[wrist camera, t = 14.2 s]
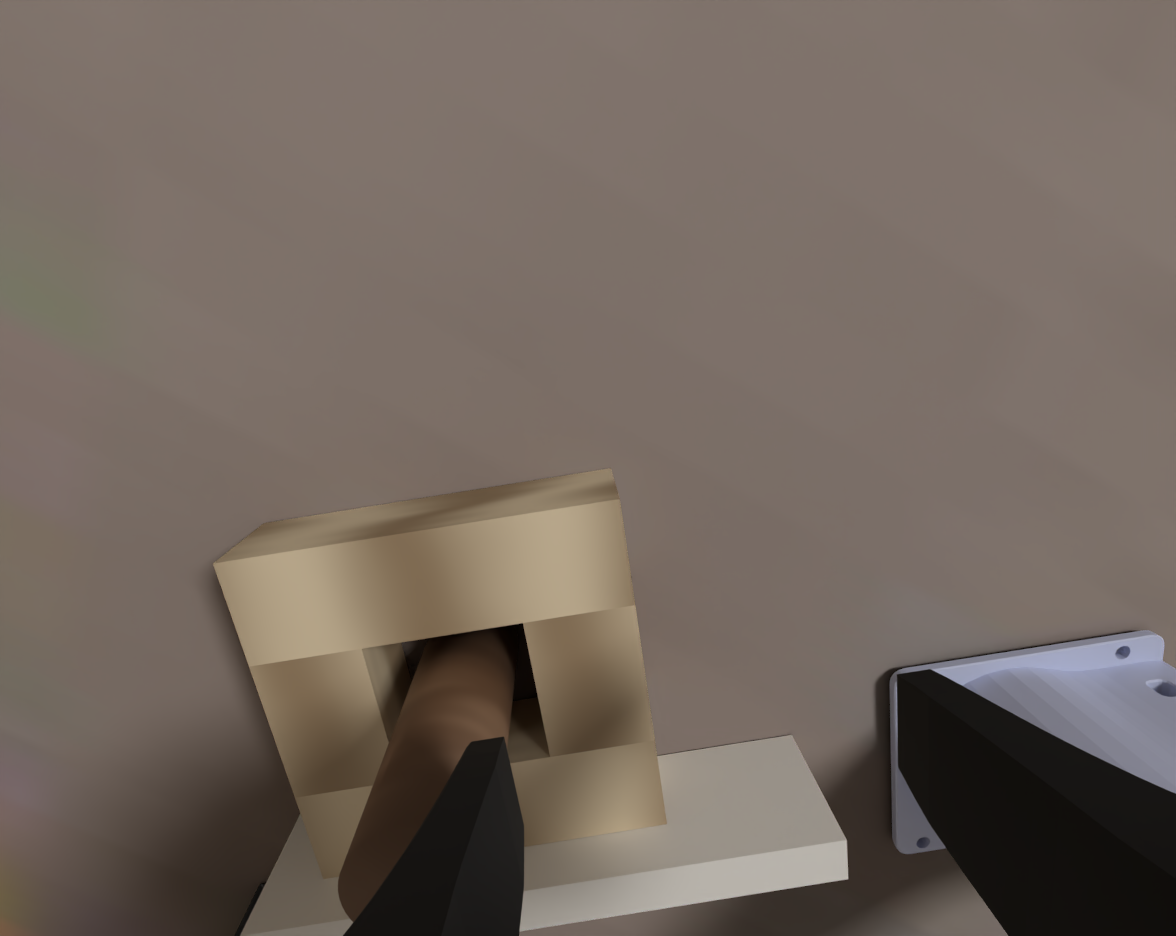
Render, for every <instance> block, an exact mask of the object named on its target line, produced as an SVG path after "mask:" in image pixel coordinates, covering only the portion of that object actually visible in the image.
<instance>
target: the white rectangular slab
mask: <svg viewBox="0 0 1176 936" xmlns="http://www.w3.org/2000/svg"><path fill="white" fill-rule="evenodd" d="M657 759H658V765H659V772H660V779H661V786H662V793H663V800H664V807H665V814H666V820H667V824H665V825H658V826H652V827H646V828H640V829H633V830H627V831H621V832H615V833H608V834H602V835H596V836H590V837H583V838H577V839H571V840H565V841H558V842H552V843H546V844H540V845H533V846H527V847H524V892H523V902H522V911H521V921H520V930H519V931H525V930H532V929H538V928H544V927H550V926H557V925H563V924H569V923H576V922H582V921H588V920H594V919H601V918H607V917H613V916H620V915H626V914H632V913H638V912H645V911H651V910H657V909H664V908H670V907H676V906H683V905H689V904H695V903H701V902H708V901H714V900H720V899H727V898H733V897H739V896H745V895H752V894H758V893H764V892H771V891H777V890H783V889H790V888H796V887H802V886H808V885H815V884H821V883H827V882H834V881H840V880H846V879H848V858H847V840H846V838H845V836H844V834H843V832H842V830H841V828H840V826H839V824H838V822H837V820H836V819H835V817H834V815H833V813H832V811H831V809H830V807H829V805H828V803H827V801H826V799H825V798H824V796H823V794H822V792H821V790H820V788H819V786H818V784H817V782H816V780H815V778H814V777H813V775H812V773H811V771H810V769H809V767H808V765H807V763H806V761H805V759H804V758H803V756H802V754H801V752H800V750H799V748H798V746H797V744H796V742H795V740H794V738H793V737H792V735H787V736H781V737H775V738H768V739H762V740H756V741H749V742H743V743H737V744H730V745H724V746H718V747H711V748H705V749H699V750H693V751H686V752H680V753H674V754H667V755H661V756H657ZM338 879H339V877H333V878H327V879H323V877H322V874H321V871H320V868H319V865H318V862H317V859H316V857H315V854H314V851H313V848H312V845H311V842H310V839H309V837H308V834H307V831H306V828H305V825H304V822H303V819H302V817H301V814H300V815H299V817H298V819H297V821H296V823H295V825H294V827H293V830H292V832H291V834H290V836H289V838H288V840H287V842H286V844H285V846H284V848H283V850H282V852H281V854H280V856H279V858H278V860H277V862H276V864H275V866H274V868H273V870H272V872H271V874H270V876H269V878H268V880H267V882H266V884H265V886H264V888H263V890H262V892H261V894H260V896H259V898H258V900H257V902H256V904H255V906H254V908H253V910H252V912H251V914H250V916H249V919H248V921H247V923H246V925H245V927H244V929H243V931H242V933H241V935H240V936H343V935H344V933H345V932H346V931H347V930H348V928H349V927H350V926H351V925H352V923H353V922H352V920H351V919H350V918H349V917H348V915H347V914H346V913H345V911H344V909H343V907H342V905H341V902H340V899H339V894H338Z"/></svg>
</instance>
